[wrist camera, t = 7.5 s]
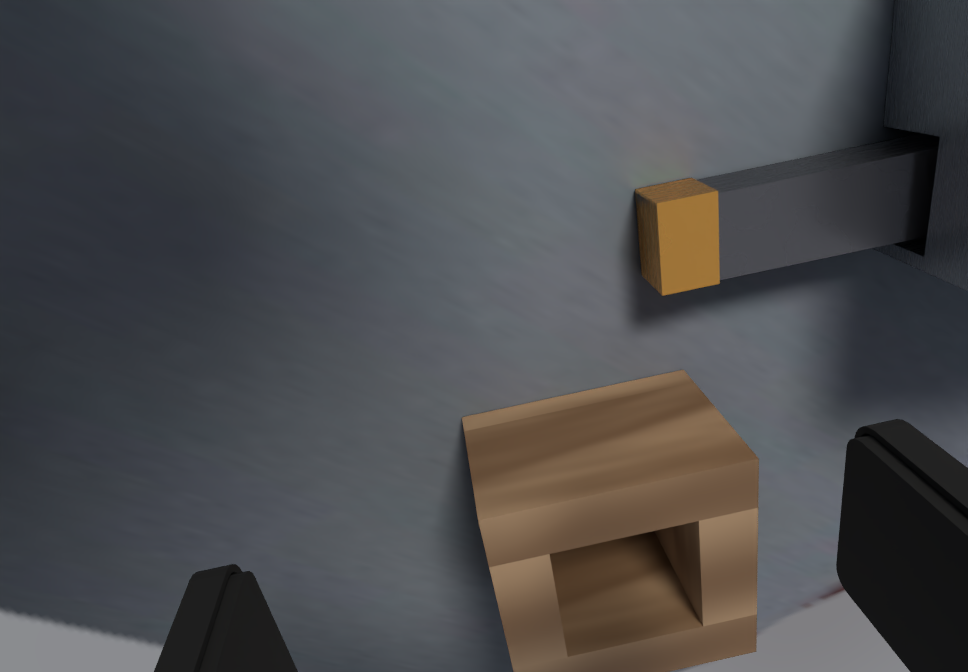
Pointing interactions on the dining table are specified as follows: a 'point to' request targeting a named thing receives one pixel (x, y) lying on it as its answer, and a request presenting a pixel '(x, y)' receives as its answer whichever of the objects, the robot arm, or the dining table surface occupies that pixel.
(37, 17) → the dining table surface
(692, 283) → the bar
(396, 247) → the dining table surface
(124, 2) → the dining table surface
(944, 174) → the socket block
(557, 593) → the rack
